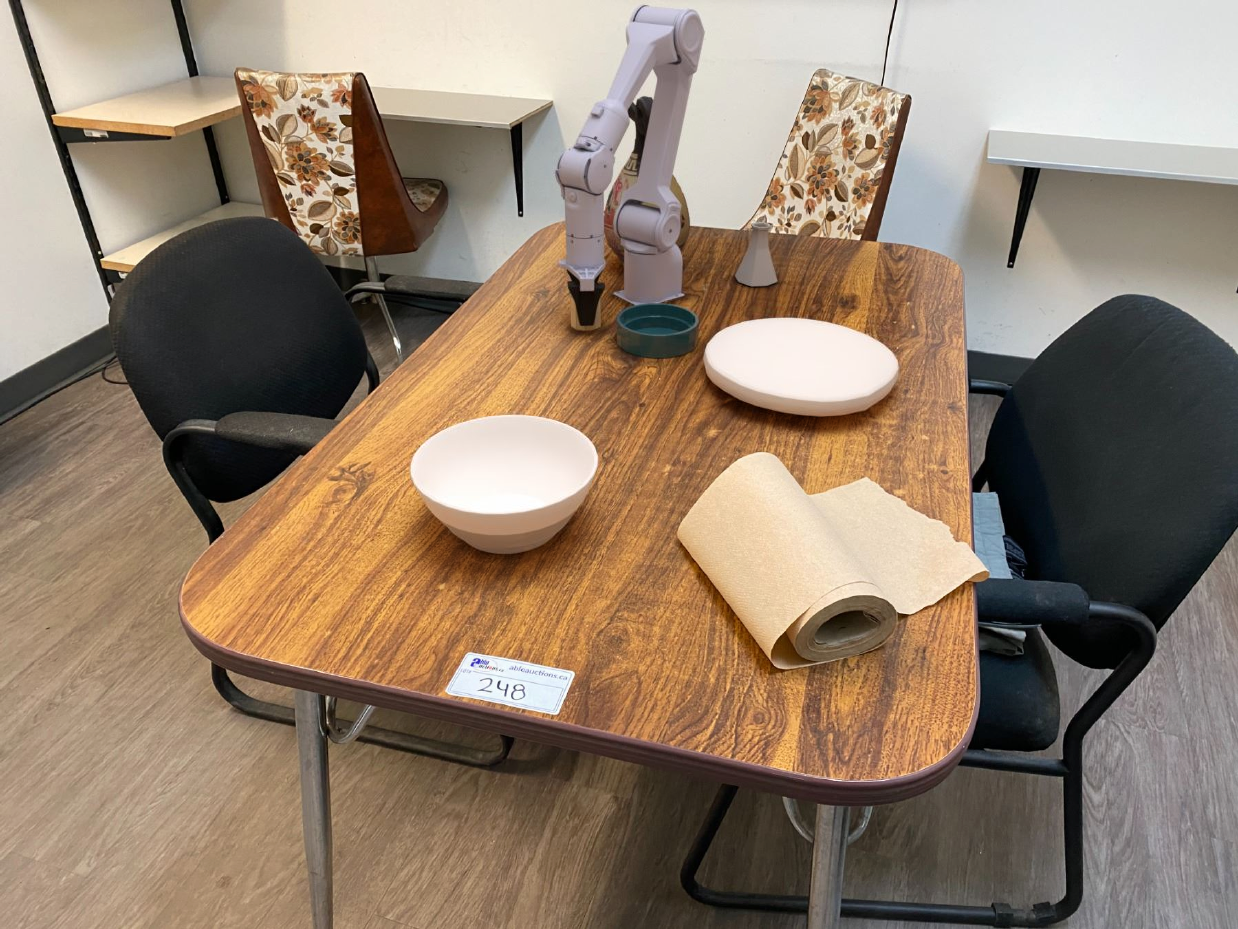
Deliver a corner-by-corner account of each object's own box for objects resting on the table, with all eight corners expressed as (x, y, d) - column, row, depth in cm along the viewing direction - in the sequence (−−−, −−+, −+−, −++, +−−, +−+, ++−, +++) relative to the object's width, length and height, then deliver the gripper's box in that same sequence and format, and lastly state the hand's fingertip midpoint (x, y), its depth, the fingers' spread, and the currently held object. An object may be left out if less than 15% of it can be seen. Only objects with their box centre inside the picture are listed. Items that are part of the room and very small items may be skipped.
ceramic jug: (597, 255, 172) (595, 85, 156) (676, 250, 174) (683, 82, 158) (612, 288, 158) (613, 105, 142) (699, 282, 160) (709, 102, 144)
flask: (727, 276, 163) (731, 221, 158) (762, 270, 165) (767, 215, 160) (749, 290, 157) (754, 233, 152) (784, 284, 160) (790, 227, 155)
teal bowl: (662, 321, 146) (663, 296, 143) (713, 348, 138) (715, 322, 135) (600, 340, 140) (600, 315, 137) (650, 369, 131) (651, 342, 129)
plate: (716, 304, 140) (895, 319, 135) (713, 344, 142) (888, 361, 138) (693, 365, 115) (911, 387, 111) (689, 412, 118) (902, 436, 113)
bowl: (509, 457, 111) (505, 397, 106) (635, 517, 100) (636, 453, 96) (380, 531, 98) (370, 466, 94) (509, 608, 88) (503, 539, 83)
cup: (589, 318, 146) (588, 287, 144) (607, 329, 143) (607, 296, 140) (564, 325, 144) (564, 293, 141) (582, 336, 141) (582, 303, 138)
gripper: (557, 218, 141) (559, 300, 149) (558, 249, 129) (561, 337, 136) (602, 217, 142) (603, 299, 149) (608, 248, 130) (608, 336, 137)
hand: (586, 317), depth 143 cm, fingers closed on cup, 5 cm apart
